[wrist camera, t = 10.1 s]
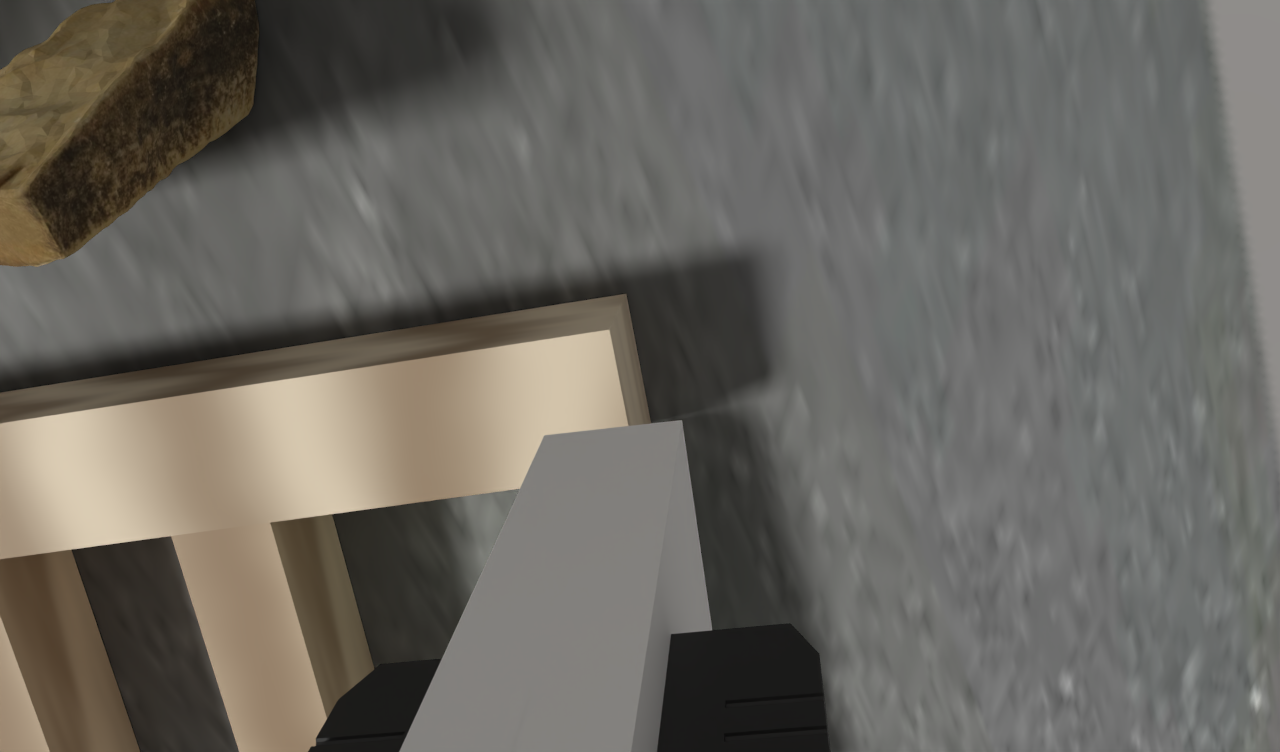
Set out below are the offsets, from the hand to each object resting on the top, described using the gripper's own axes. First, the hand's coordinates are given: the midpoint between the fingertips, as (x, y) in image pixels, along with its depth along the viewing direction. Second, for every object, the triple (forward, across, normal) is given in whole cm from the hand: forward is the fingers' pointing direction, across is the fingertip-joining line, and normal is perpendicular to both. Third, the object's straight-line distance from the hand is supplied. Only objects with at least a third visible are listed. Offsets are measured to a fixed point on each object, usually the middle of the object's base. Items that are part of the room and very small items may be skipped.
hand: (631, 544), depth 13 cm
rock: (+23, -17, +5) cm, 29 cm away
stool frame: (+22, -14, -10) cm, 28 cm away
